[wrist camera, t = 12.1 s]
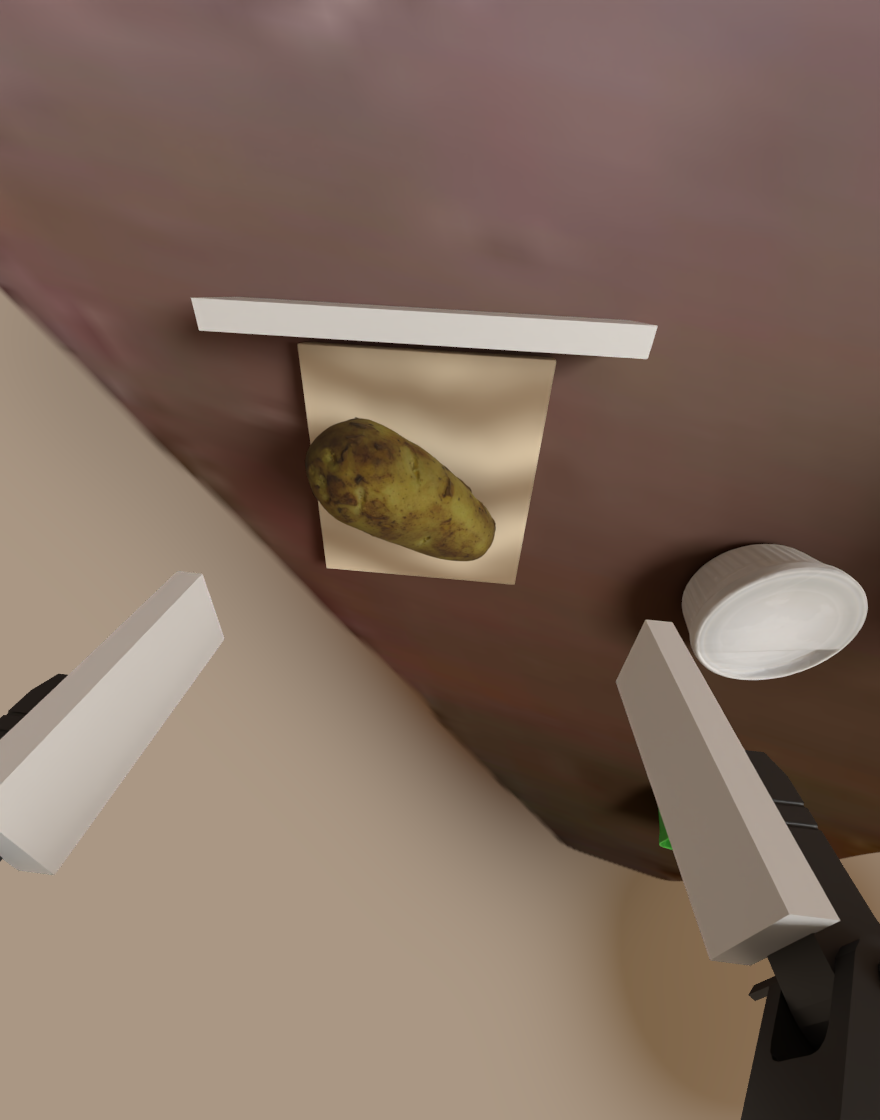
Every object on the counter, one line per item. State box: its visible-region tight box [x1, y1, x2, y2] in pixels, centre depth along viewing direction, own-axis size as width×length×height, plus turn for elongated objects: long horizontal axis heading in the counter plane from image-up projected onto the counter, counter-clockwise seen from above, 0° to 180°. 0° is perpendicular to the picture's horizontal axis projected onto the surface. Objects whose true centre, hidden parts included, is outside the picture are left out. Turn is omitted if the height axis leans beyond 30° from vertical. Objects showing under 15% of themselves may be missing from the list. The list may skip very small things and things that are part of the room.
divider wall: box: [191, 297, 657, 359], centre depth 23 cm, size 2×24×5 cm, turn 87°
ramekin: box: [682, 544, 868, 680], centre depth 32 cm, size 11×11×5 cm
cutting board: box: [297, 342, 556, 584], centre depth 30 cm, size 17×16×2 cm
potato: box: [305, 417, 496, 561], centre depth 26 cm, size 8×13×8 cm, turn 31°
